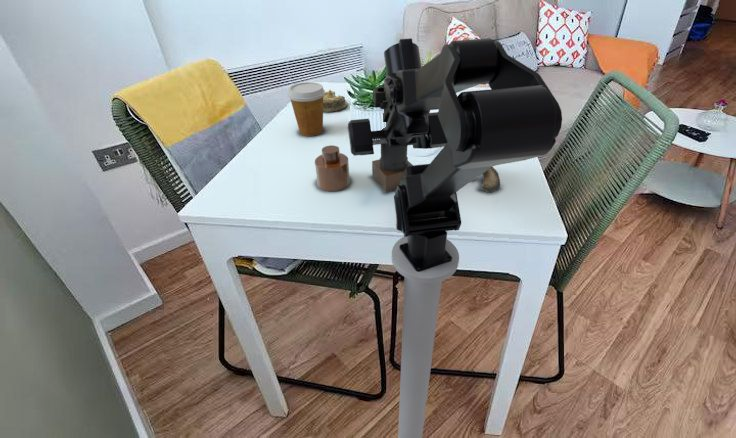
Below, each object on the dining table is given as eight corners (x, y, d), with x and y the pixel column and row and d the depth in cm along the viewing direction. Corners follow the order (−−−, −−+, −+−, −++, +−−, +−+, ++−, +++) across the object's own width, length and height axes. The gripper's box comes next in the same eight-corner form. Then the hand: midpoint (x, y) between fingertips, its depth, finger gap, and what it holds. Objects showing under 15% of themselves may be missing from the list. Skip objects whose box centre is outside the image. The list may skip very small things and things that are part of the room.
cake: (328, 117, 113) (325, 99, 109) (310, 108, 119) (306, 92, 115) (354, 105, 117) (352, 88, 114) (335, 98, 123) (332, 81, 120)
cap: (411, 167, 78) (412, 133, 74) (387, 173, 76) (387, 139, 72) (399, 156, 82) (400, 123, 78) (376, 161, 80) (376, 128, 76)
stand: (415, 184, 80) (416, 168, 78) (385, 192, 78) (385, 176, 76) (400, 170, 85) (401, 154, 83) (372, 177, 83) (371, 160, 81)
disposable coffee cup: (306, 122, 109) (300, 79, 101) (335, 127, 105) (331, 83, 98) (286, 135, 102) (279, 91, 95) (316, 141, 98) (311, 95, 91)
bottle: (354, 186, 80) (352, 152, 75) (323, 194, 78) (319, 160, 73) (343, 171, 85) (340, 139, 81) (313, 178, 83) (309, 145, 79)
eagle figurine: (453, 167, 83) (466, 181, 75) (473, 139, 81) (488, 151, 73) (480, 183, 85) (495, 198, 77) (500, 156, 83) (518, 169, 75)
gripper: (452, 68, 65) (430, 107, 80) (345, 76, 63) (343, 115, 78) (463, 129, 64) (438, 157, 79) (353, 140, 62) (349, 166, 77)
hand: (392, 147), depth 78 cm, fingers open, 9 cm apart
